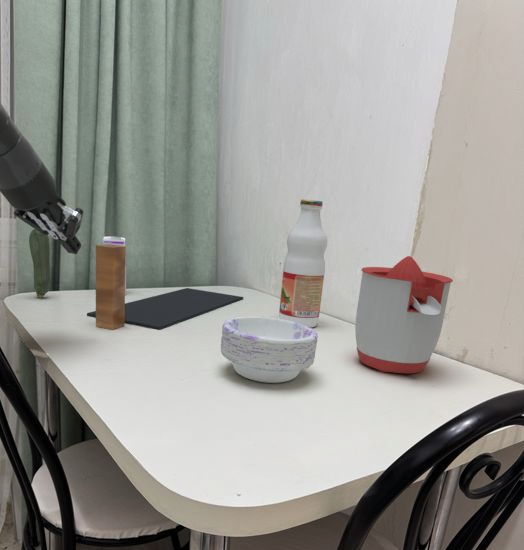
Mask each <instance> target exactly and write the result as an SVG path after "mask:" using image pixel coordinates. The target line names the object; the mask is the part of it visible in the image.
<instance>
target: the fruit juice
mask: <svg viewBox="0 0 524 550" xmlns="http://www.w3.org/2000/svg"><path fill="white" fill-rule="evenodd" d="M299 207H300V212H299V213H300V214H299V216H298V219H297V221H296V223H295V225H294V227H293V228H292V229H291V230H290V231H289V232H288V235H287V239H286V247H287V255H286V257H285V258H284V263H283V269H282V271H283V272H282V280H281V289H280V301H279V311H278V319H283V320H288V321H292V322H296V323H299V324H302V325H305V326H308V327H310V328H316V327H317V326H318V324H319V318H320V311H321V304H322V296H323V287H324V278H325V272H326V260H325V253H326V249H327V247H328V236H327V234H326V232H325V230H324V228H323V224H322V220H321V210H322V209H323V201H322V200H314V199H313V200H312V199H300V201H299Z"/></svg>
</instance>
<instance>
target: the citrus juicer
mask: <svg viewBox="0 0 524 550" xmlns="http://www.w3.org/2000/svg"><path fill="white" fill-rule="evenodd" d="M421 269H422V268H421V267H420V266H419V264H418V263H417V261H416V260H415V259H414V258H413V257H412V256H410V255H408V256H405V257H404V258H402V259H401V260H399V261H398V262H397V263H396V264H395V265H394V266H393V267H387V266H386V267H385V266H365V267H362V268H361V270H360V271H361V272H362V274H361V279H360V286H359V294H358V301H357V307H356V314H355V324H354V327H355V328H354V329H355V330H354V331H355V341H356V352H357V355H358V359H359V361H360V362H361V363H362V364H363V365H366V366H368V367H370V368H373V369H376V370H377V371H379V372H380V373H395V374H417V373H421V372H422V371H424V369H425V368H426V366H428V364H429V362H430V360H431V357H432V355H433V353H434V351H435V350H436V347H437V344H438V342H439V339H440V337H441V332H442V328H443V323H444V319H445V313H446V308H447V304H448V299H449V293H450V289H451V283H453V281H454V280H453V278H451V277H448V276H447V275H443V274H438V273H433V272H427V271H422V270H421Z"/></svg>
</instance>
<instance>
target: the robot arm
mask: <svg viewBox="0 0 524 550" xmlns="http://www.w3.org/2000/svg"><path fill="white" fill-rule="evenodd" d="M0 193H1V194H2V196H3V197H4V198H5V200H6V201H7V202H8V203H9V204H10V206H11V207H12V208H14V209H15V210H14V212H13V215H14V216H15V217H16V218H18V219H19V220H21V221H22V222H24V223H25V224H27V225H28V226H30V227H31V228H33V229H36V230H37V231H39V232H40V233H42V234H43V235H45V236H47V235H48V236H49V235H50V236H51V237H52V238H53V239H54V240H57V241H58V242H59V244H60V245H61V247H62V248H63V249H64V250H65V251H66V252H67V253H68V254H73V255H77V254H78V253H79V251H80V249H81V248H82V243H81V242H80V240H79V239H78V238H77V236H76V235H77V233H78V232H79V230H80V229H81V225H82V221H83V217H84V210H83V209H82V208H80V207H76V208H75V209H72V208H71V207H69V206H67V202H66V201H65V200H64V199H63V198H62V197H61V196H60V195H59V193H58V192H57V182H56V180H55V178H54V177H53V175H52V174H51V172H50V171H49V170H48V168H47V166H46V165H45V163H44V162H43V161H42V159H41V158H40V156H39V154H38V153H37V152H36V150H35V149H34V147H33V146H32V144H31V142H29V141H28V139H27V138H26V137H25V136H24V135H23V134H22V132H21V131H20V129H19V128H18V127H17V125H16V124H15V122H14V121H13V119H12V117H11V116H10V115H9V113H8V111H7V110H6V108H5V107H4V106H3V104H2V102H1V101H0Z"/></svg>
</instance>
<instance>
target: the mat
mask: <svg viewBox="0 0 524 550" xmlns="http://www.w3.org/2000/svg"><path fill="white" fill-rule="evenodd" d="M242 300H244V296H239V295H233V294H227V293H221V292H214V291H209V290H204V289H203V290H202V289H196V288H189V287H185V288H181V289H177V290H173V291H169V292H166V293H162V294H161V293H160V294H158V295H157V294H156V295H154V296H150V297H145V298H141V299H137V300H133V301H129V302H125V324H128V325H132V326H139V327H144V328H149V329H155V330H158V331H159V330H163V329H165V328H168V327H171V326H174V325H177V324H180V323H182V322H185V321H187V320H190V319H192V318H196V317H199V316H202V315H203V314H206V313H209V312H212V311H214V310H217V309H220V308H222V307H226V306H228V305H232V304H234V303H237V302H239V301H242ZM86 316H87V317H91V318H96V310H93V311H90V312H86Z"/></svg>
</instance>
